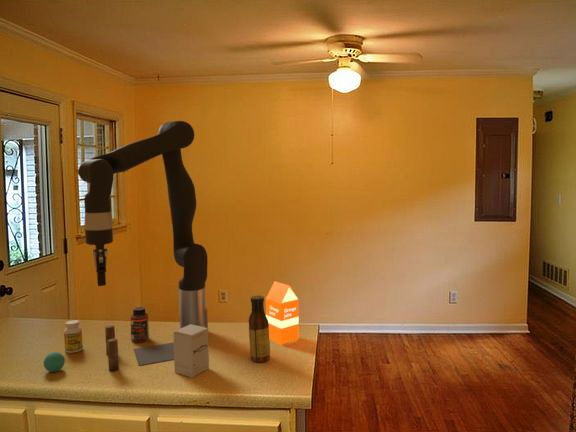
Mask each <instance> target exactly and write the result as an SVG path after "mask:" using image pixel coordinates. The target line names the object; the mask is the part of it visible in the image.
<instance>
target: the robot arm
mask: <svg viewBox="0 0 576 432" xmlns="http://www.w3.org/2000/svg"><path fill="white" fill-rule="evenodd" d="M194 140H195V130H194V128H193V126H192V125H191V124H190V123H189V122H187V121H185V120H175V121H168V122H164V123H162V124H161V125H160V126H159V129H158V133H157V134H156V135H154V136H151V137H148V138H144V139H139V140H137V141H135V142H134V141H133V142H131V143H127V144H125V145H123V146H121V147H118V148H116V149H113V150H112V151H109V152H107V153H104V154H99V155H97V156H94V157H90V158H88V159H86V160H84V161H83V162H81V164H80V165H79V167H78V176H79V177H80V179H81V180H82V181H83V182H84V183H87V184H90V185H89V191H88V192H86V193H85V195H84V202H83V203H84V238H85V244H86V245H87V246H95V249H94V248H93V249H92V256H93V262H94V263H93V264H94V266H95V272H96V280H97V281H96V282H97V286H98V287H102V286H103V287H105V286H106V285H107V284H106V283H107V280H106V277H107V276H106V273H107V265H108V258H107V257H108V249H107V248H105V245H109V244H111V243H113V242H114V236H113V235H114V234H113V230H114V229H113V218H112V217H113V216H112V213H111V211H112V209H111V193H112V189H113V183H114V174H118V173H124V172H127V171H129V170H131V169H134V168H135V167H137V166H139V165H141V164H144V163H145V162H147V161H150V160H152V159H154V158H156V157H158V156H162V161H163V165H164V167H163V168H164V173H165V178H166V188H167V196H168V204H169V210H170V219H171V226H172V236H173V237H172V238H173V239H172V241H173V242H172V243H173V257H174V261H175V263H176V264H177V265H178V266H180V267H181V268H183V277H182V278H180V279H179V281H178V302H179V303H178V304H179V329H181V328H183V327H185V326H188V325H190V324H192V325H196V326H201V327H205V328H208V329H209V326H208V325H209V324H208V321H209V320H208V308H207V306H206V305H207V303H206V282H207V279H208V253H207V250H206V248H205V247H204V246H203V245H201V244H199V243H195V240H194V233H193V222H194V218H195V214H196V211H197V198H196V197H197V195H196V189H195V184H194V182H193V180H192V178H191V176H190V174H189V173H188V171H187V169H186V167H185V164H184V162H183V157H182V150H183V149H186V148H187V147H190V146H191V145H192V143H193V141H194Z"/></svg>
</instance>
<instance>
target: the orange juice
mask: <svg viewBox="0 0 576 432" xmlns="http://www.w3.org/2000/svg"><path fill="white" fill-rule="evenodd" d="M265 315H266V317H267V320H268V323H269V340H272V341H274V342H273V343H275V342H276V343H275V344H277V343H278V344H277V345H279V344H281V345H282V344H285V343H287V342H290V341H293V340H297V339H299V338H300V337H299V334H300V333H299V328H300V327H299V319H300V317H299V298H298V296H297V295H296V293H295V292H294V290H293V289H292V287H291V286H290V285H288V284H285V283H282V282H279V281H276V280H274V281H273V284H272V285H271V288H270V289H269V291H268V294H267V295H266V297H265ZM272 341H271V342H272ZM281 345H280V346H281Z"/></svg>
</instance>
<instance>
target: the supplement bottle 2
mask: <svg viewBox="0 0 576 432" xmlns="http://www.w3.org/2000/svg"><path fill="white" fill-rule="evenodd" d="M149 328H150V325H149V315H148V313H147V312H146V308H145V307H144V306H137V307H134V308H133V309H132V314H131V315H130V339H131V342H133V343H143V342H144V343H145V342H146V341H148V340H149V338H150V331H149V330H150V329H149Z"/></svg>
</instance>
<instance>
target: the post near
mask: <svg viewBox="0 0 576 432" xmlns="http://www.w3.org/2000/svg"><path fill="white" fill-rule="evenodd" d="M107 343H108V355H107V363H108V372H112V373H113V372H114V373H115V372H117V371H119V370H120V366H119V365H120V363H119V341H118V339H117V338H115V339H109V340H108V341H107Z"/></svg>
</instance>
